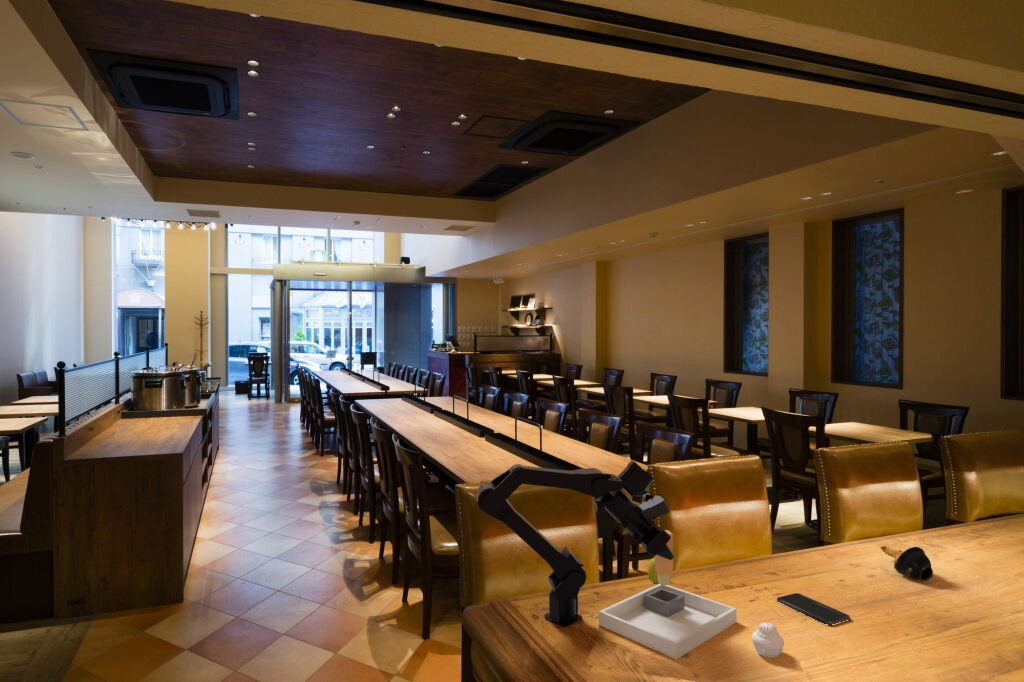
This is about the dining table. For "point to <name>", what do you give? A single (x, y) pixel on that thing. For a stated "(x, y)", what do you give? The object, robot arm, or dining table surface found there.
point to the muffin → (767, 640)
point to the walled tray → (668, 619)
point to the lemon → (653, 572)
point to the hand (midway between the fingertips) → (669, 555)
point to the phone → (813, 609)
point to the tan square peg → (665, 564)
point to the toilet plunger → (911, 562)
